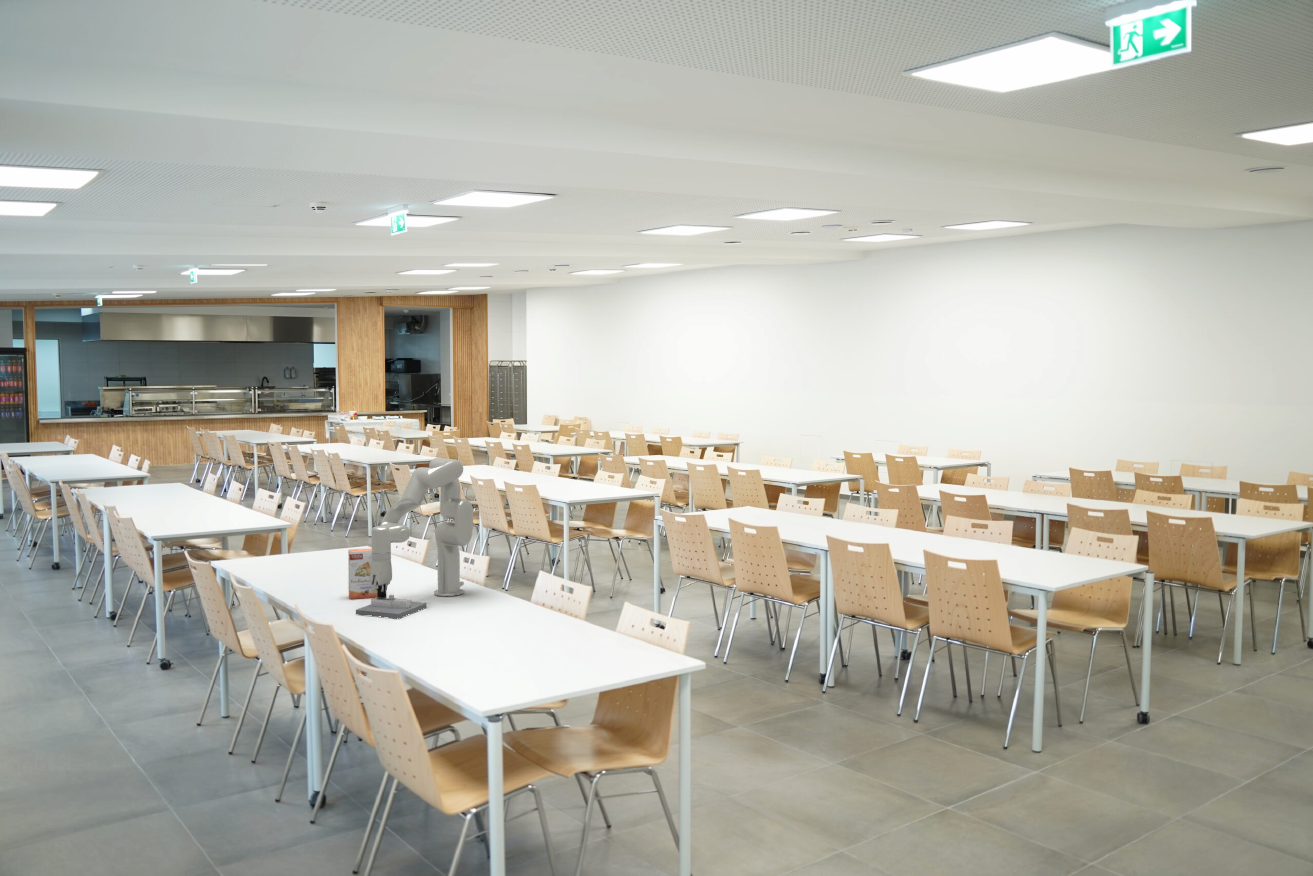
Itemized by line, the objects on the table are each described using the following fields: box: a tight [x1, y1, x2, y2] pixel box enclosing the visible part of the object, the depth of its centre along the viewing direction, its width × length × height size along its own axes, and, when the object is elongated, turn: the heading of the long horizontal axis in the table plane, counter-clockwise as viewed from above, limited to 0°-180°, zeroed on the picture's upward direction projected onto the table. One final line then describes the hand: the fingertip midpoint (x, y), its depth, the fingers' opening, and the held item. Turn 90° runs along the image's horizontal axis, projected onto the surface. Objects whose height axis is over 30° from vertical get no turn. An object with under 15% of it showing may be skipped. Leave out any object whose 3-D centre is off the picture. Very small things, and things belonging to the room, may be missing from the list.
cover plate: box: [355, 594, 428, 620], centre depth 399 cm, size 20×20×6 cm
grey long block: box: [370, 597, 412, 609], centre depth 398 cm, size 5×16×3 cm, turn 74°
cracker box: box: [347, 547, 377, 600], centre depth 424 cm, size 14×6×21 cm, turn 112°
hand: (381, 600), depth 404 cm, fingers closed
